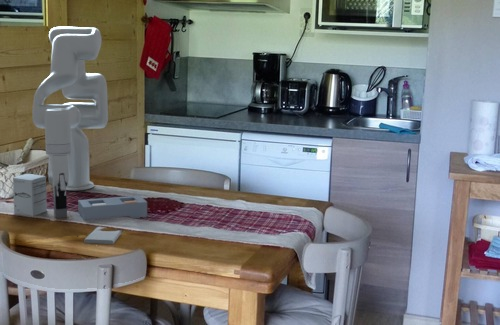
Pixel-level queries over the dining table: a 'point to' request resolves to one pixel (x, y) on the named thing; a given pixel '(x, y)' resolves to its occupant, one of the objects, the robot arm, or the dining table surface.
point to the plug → (58, 212)
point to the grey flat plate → (52, 218)
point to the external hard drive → (103, 236)
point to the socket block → (113, 207)
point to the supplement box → (29, 194)
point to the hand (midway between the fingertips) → (60, 206)
